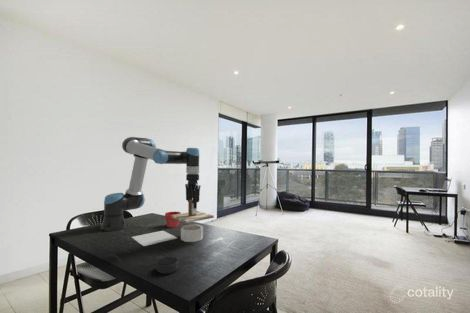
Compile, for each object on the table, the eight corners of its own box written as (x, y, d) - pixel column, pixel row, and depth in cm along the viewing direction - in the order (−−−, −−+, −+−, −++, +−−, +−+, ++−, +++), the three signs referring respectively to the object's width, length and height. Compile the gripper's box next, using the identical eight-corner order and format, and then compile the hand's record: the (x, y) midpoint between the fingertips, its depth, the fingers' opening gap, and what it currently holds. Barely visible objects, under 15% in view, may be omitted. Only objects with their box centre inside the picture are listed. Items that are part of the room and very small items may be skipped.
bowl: (177, 239, 134) (177, 227, 134) (195, 234, 142) (195, 223, 143) (188, 244, 125) (188, 231, 126) (206, 239, 133) (206, 227, 134)
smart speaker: (170, 263, 102) (170, 254, 102) (182, 269, 96) (182, 260, 96) (152, 270, 95) (152, 260, 95) (163, 277, 90) (164, 267, 90)
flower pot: (173, 223, 168) (173, 210, 168) (183, 226, 161) (183, 212, 162) (161, 227, 159) (161, 213, 159) (171, 229, 153) (171, 215, 153)
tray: (131, 238, 135) (131, 237, 135) (162, 231, 149) (162, 230, 149) (143, 247, 121) (143, 246, 121) (177, 239, 134) (177, 238, 134)
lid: (171, 217, 135) (171, 199, 135) (196, 212, 147) (196, 196, 147) (186, 223, 121) (186, 203, 122) (213, 217, 134) (213, 200, 134)
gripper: (180, 173, 138) (179, 212, 138) (194, 174, 126) (194, 216, 126) (190, 173, 144) (190, 210, 143) (205, 174, 132) (205, 214, 131)
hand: (192, 213), depth 134 cm, fingers closed on lid, 3 cm apart
